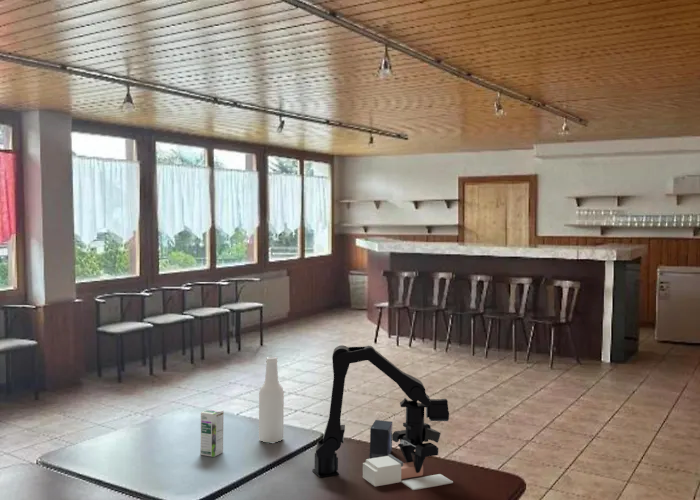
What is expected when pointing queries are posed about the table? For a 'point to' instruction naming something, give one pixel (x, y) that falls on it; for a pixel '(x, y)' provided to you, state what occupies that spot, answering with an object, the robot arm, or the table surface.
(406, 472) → the salmon pink block
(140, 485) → the table surface
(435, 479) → the mat
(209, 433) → the syrup box
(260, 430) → the alcohol
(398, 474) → the block
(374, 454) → the small box
